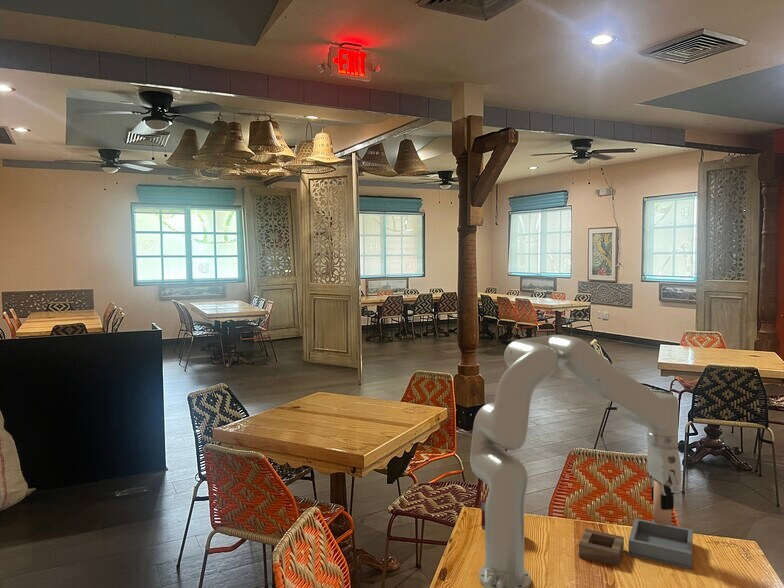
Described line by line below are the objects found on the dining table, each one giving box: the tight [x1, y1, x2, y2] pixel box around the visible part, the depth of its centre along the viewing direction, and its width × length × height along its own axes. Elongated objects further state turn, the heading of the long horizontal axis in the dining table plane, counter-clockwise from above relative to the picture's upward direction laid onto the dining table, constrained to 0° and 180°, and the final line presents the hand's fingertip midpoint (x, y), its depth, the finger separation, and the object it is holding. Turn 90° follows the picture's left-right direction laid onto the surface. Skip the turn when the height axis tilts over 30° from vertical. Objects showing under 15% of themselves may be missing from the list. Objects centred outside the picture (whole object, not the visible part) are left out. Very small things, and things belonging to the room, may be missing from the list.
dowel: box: [653, 480, 672, 525], centre depth 151 cm, size 4×4×11 cm
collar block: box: [578, 528, 625, 567], centre depth 149 cm, size 10×10×4 cm
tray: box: [627, 517, 694, 570], centre depth 151 cm, size 15×15×4 cm
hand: (662, 504), depth 151 cm, fingers closed on dowel, 4 cm apart
